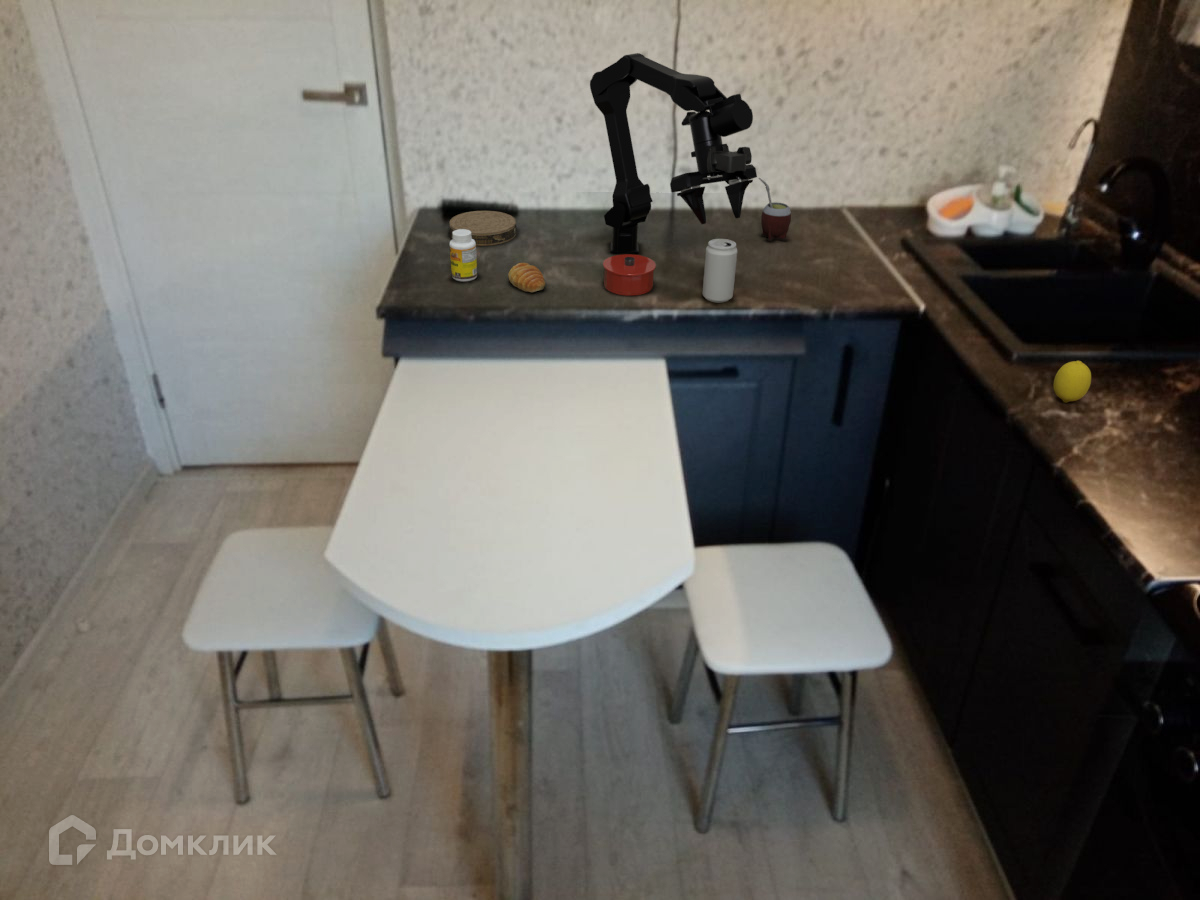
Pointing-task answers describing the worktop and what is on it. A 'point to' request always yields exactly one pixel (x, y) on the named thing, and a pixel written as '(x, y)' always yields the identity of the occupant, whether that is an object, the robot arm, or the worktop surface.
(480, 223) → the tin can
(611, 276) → the pot
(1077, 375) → the lemon
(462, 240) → the supplement bottle
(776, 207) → the mate gourd
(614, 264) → the pot lid
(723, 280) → the beverage can
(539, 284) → the pastry
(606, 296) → the worktop surface
